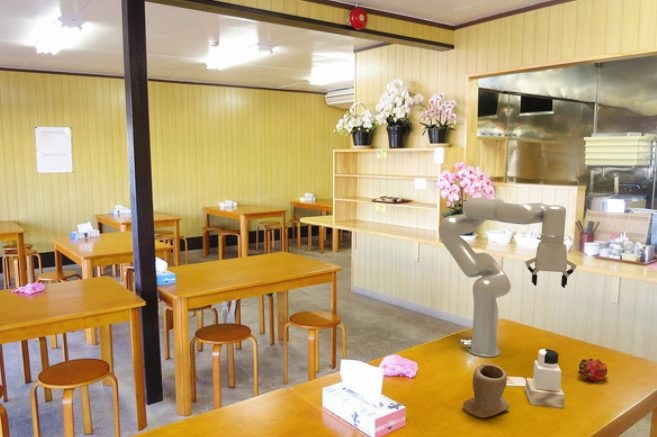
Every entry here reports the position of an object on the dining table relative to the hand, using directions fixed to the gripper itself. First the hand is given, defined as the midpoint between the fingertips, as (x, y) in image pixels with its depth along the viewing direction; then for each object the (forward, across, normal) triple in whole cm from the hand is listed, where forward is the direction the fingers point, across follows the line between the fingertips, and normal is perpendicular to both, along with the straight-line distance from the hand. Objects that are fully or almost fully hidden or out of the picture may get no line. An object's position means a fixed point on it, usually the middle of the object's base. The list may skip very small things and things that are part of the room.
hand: (548, 285), depth 182 cm
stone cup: (+34, -22, -35) cm, 53 cm away
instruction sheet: (+33, -12, -11) cm, 37 cm away
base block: (+34, -3, -22) cm, 40 cm away
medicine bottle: (+29, -3, -22) cm, 36 cm away
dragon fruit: (+34, +17, -1) cm, 38 cm away
